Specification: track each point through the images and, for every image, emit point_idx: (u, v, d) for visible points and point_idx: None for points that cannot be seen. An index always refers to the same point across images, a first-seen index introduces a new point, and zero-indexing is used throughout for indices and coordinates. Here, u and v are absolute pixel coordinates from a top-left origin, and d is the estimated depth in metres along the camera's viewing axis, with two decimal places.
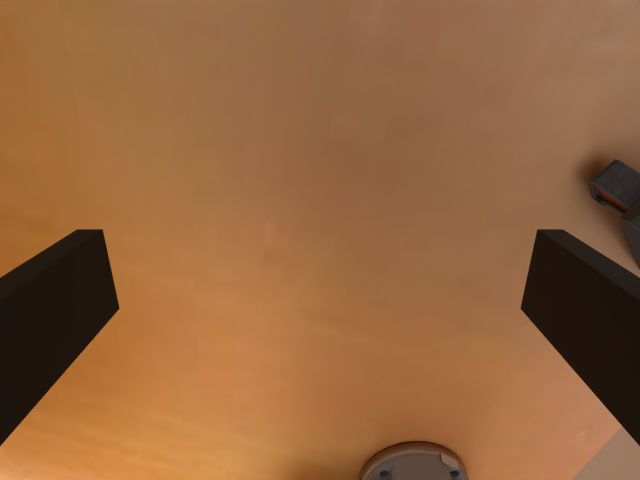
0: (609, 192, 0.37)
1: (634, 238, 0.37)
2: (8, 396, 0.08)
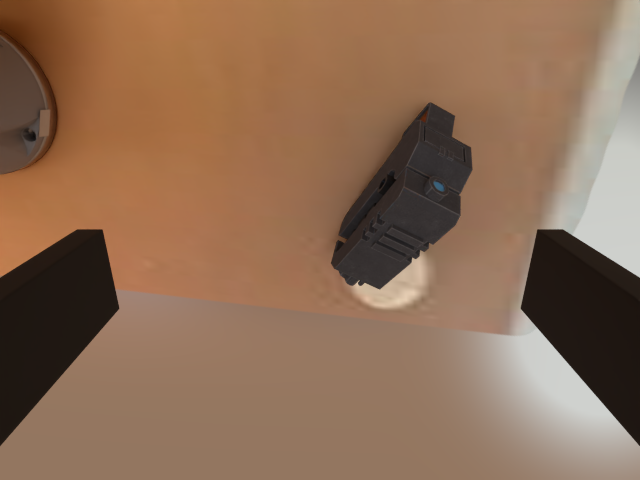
0: (429, 113, 0.39)
1: (397, 150, 0.39)
2: (8, 397, 0.08)
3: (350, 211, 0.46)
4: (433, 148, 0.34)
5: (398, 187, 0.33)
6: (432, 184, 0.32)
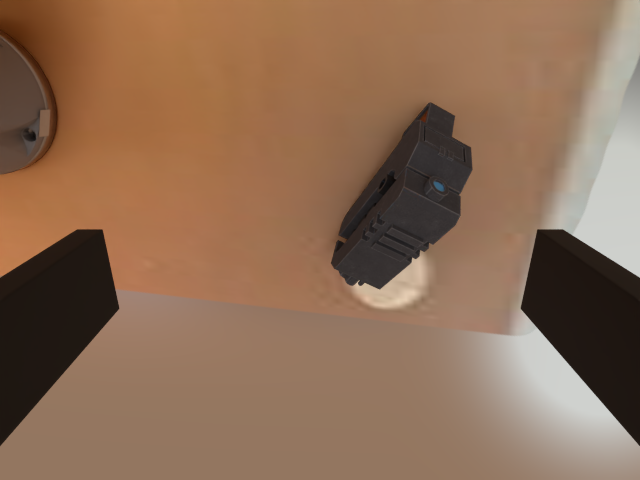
0: (429, 113, 0.39)
1: (397, 150, 0.39)
2: (8, 397, 0.08)
3: (350, 211, 0.46)
4: (433, 148, 0.34)
5: (398, 187, 0.33)
6: (432, 184, 0.32)
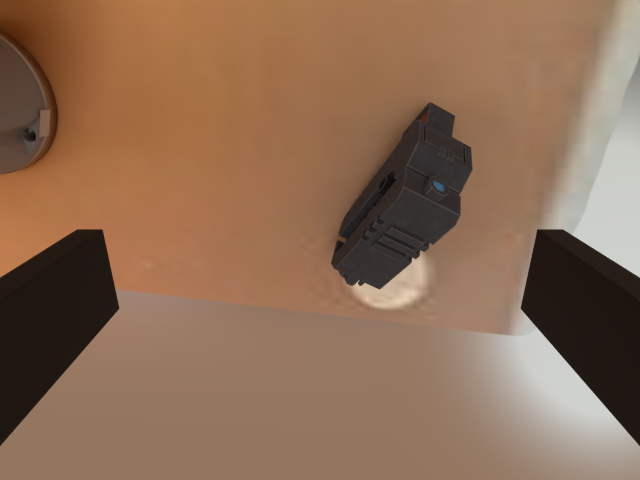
0: (429, 113, 0.39)
1: (397, 150, 0.39)
2: (8, 397, 0.08)
3: (350, 211, 0.46)
4: (433, 148, 0.34)
5: (398, 187, 0.33)
6: (432, 184, 0.32)
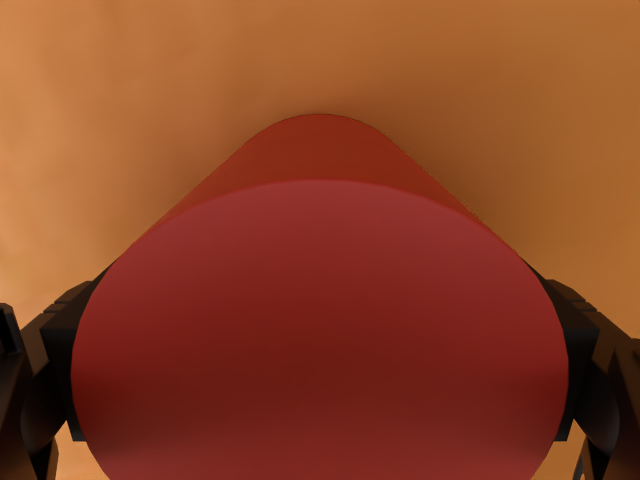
0: None
1: None
2: None
3: None
4: None
5: None
6: None
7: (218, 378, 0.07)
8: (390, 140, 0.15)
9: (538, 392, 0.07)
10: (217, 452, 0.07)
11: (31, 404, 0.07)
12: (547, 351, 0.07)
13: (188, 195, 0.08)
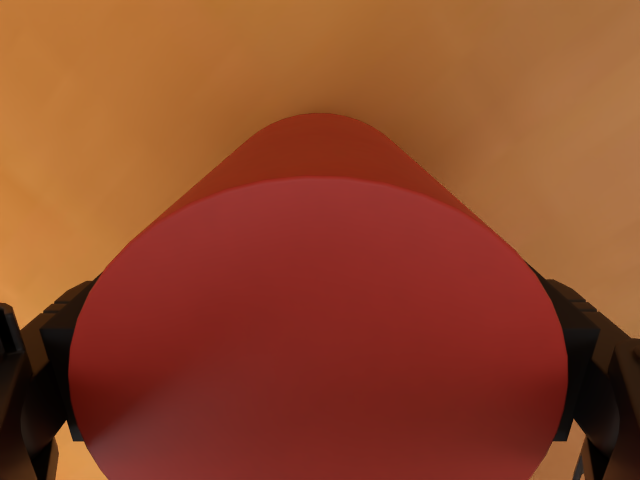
0: None
1: None
2: None
3: None
4: None
5: None
6: None
7: (216, 378, 0.07)
8: None
9: (537, 391, 0.07)
10: (215, 452, 0.07)
11: (31, 404, 0.07)
12: (546, 350, 0.07)
13: (186, 193, 0.08)
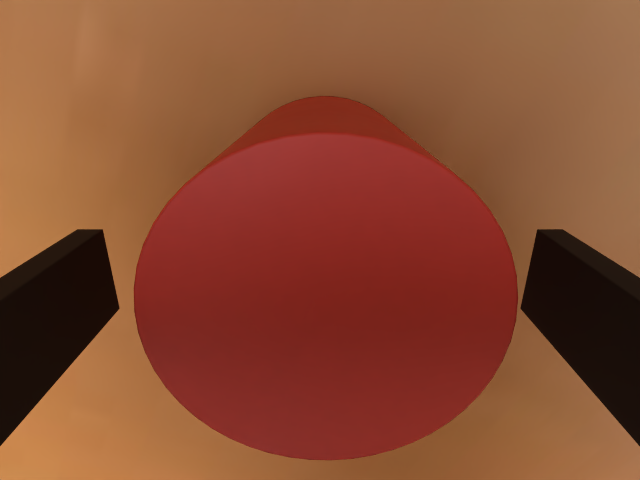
0: None
1: None
2: (9, 396, 0.08)
3: None
4: None
5: None
6: None
7: (247, 292, 0.09)
8: None
9: (494, 305, 0.09)
10: (244, 355, 0.09)
11: None
12: (500, 270, 0.09)
13: None
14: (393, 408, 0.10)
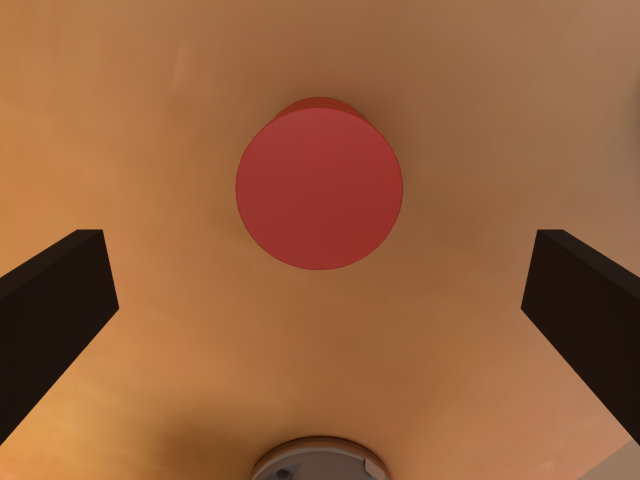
0: None
1: None
2: (8, 397, 0.08)
3: None
4: None
5: None
6: None
7: (285, 178, 0.20)
8: None
9: (392, 184, 0.21)
10: (283, 210, 0.21)
11: None
12: (393, 167, 0.20)
13: (272, 120, 0.21)
14: (351, 239, 0.22)
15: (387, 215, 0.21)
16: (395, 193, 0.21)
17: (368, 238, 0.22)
